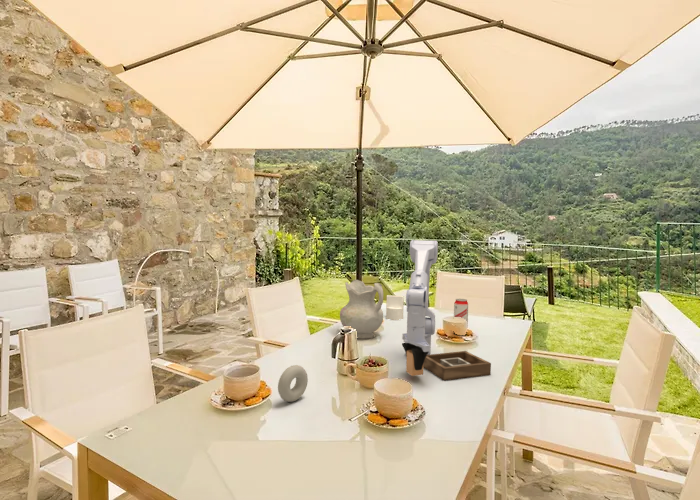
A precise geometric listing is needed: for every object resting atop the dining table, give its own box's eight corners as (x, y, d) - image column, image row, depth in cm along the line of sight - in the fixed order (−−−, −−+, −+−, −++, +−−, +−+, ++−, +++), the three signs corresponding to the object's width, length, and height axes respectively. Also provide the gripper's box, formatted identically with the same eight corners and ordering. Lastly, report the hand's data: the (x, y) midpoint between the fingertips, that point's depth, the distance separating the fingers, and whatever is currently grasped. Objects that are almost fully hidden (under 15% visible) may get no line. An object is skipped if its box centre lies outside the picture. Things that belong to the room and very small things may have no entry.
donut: (283, 408, 110) (283, 371, 110) (274, 404, 112) (275, 368, 112) (310, 397, 118) (310, 362, 117) (301, 393, 120) (302, 359, 119)
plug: (406, 371, 135) (406, 350, 135) (416, 370, 136) (417, 349, 136) (412, 375, 131) (412, 354, 131) (423, 374, 133) (423, 353, 132)
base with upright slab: (385, 319, 215) (386, 297, 215) (386, 316, 224) (387, 294, 223) (402, 320, 214) (403, 297, 213) (403, 317, 223) (404, 295, 222)
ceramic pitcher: (394, 337, 185) (397, 282, 186) (373, 344, 169) (376, 283, 169) (353, 330, 197) (356, 278, 197) (330, 336, 180) (333, 279, 181)
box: (421, 366, 145) (422, 355, 145) (465, 361, 151) (465, 350, 151) (444, 381, 132) (444, 368, 132) (490, 374, 138) (491, 363, 138)
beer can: (467, 336, 186) (469, 301, 185) (453, 335, 187) (454, 300, 186) (466, 333, 192) (467, 298, 191) (452, 332, 193) (454, 298, 192)
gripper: (394, 321, 138) (393, 361, 139) (416, 332, 125) (414, 376, 126) (413, 320, 141) (412, 359, 142) (436, 330, 127) (435, 373, 128)
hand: (414, 367), depth 134 cm, fingers closed on plug, 4 cm apart
